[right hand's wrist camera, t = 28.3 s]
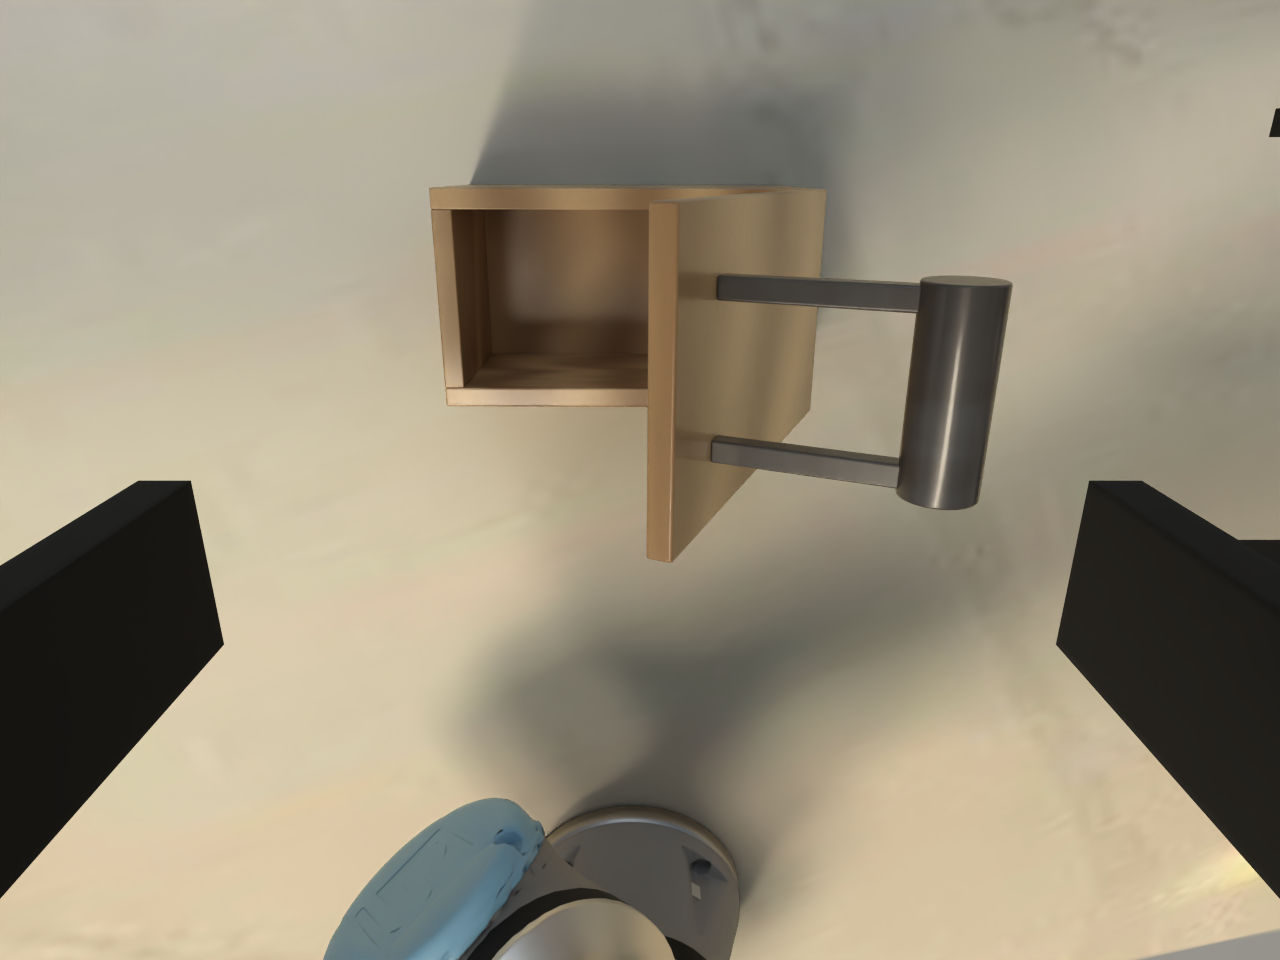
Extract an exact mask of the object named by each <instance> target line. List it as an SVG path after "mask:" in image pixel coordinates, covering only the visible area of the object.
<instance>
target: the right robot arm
mask: <svg viewBox="0 0 1280 960" xmlns="http://www.w3.org/2000/svg"><path fill="white" fill-rule="evenodd" d="M223 645H224V642H223V637H222V632H221V628H220V623H219V618H218V613H217V608H216V603H215V598H214V593H213V588H212V583H211V578H210V573H209V568H208V563H207V558H206V554H205V549H204V544H203V539H202V534H201V529H200V524H199V519H198V514H197V509H196V504H195V499H194V494H193V489H192V484H191V481H137V482H136V483H134V484H132V485H131V486H129V487H127V488H126V489H124V490H123V491H121V492H119V493H118V494H116V495H114V496H113V497H111V498H110V499H108V500H106V501H105V502H103V503H101V504H100V505H98V506H97V507H95V508H93V509H92V510H90V511H88V512H87V513H85V514H84V515H82V516H80V517H79V518H77V519H75V520H74V521H72V522H71V523H69V524H67V525H66V526H64V527H62V528H61V529H59V530H58V531H56V532H54V533H53V534H51V535H49V536H48V537H46V538H45V539H43V540H41V541H40V542H38V543H36V544H35V545H33V546H32V547H30V548H28V549H27V550H25V551H23V552H22V553H20V554H19V555H17V556H15V557H14V558H12V559H10V560H9V561H7V562H6V563H4V564H2V565H1V566H0V898H1V897H2V896H3V895H4V894H5V893H6V891H7V890H8V889H9V888H10V887H11V886H12V885H13V884H14V882H15V881H16V880H17V879H18V878H19V877H20V876H21V874H22V873H23V872H24V871H25V870H26V869H27V868H28V866H29V865H30V864H31V863H32V862H33V861H34V860H35V859H36V857H37V856H38V855H39V854H40V853H41V852H42V851H43V849H44V848H45V847H46V846H47V845H48V844H49V843H50V841H51V840H52V839H53V838H54V837H55V836H56V835H57V834H58V832H59V831H60V830H61V829H62V828H63V827H64V826H65V824H66V823H67V822H68V821H69V820H70V819H71V818H72V817H73V815H74V814H75V813H76V812H77V811H78V810H79V809H80V807H81V806H82V805H83V804H84V803H85V802H86V801H87V799H88V798H89V797H90V796H91V795H92V794H93V793H94V792H95V790H96V789H97V788H98V787H99V786H100V785H101V784H102V782H103V781H104V780H105V779H106V778H107V777H108V776H109V774H110V773H111V772H112V771H113V770H114V769H115V768H116V767H117V765H118V764H119V763H120V762H121V761H122V760H123V759H124V757H125V756H126V755H127V754H128V753H129V752H130V751H131V749H132V748H133V747H134V746H135V745H136V744H137V743H138V742H139V740H140V739H141V738H142V737H143V736H144V735H145V734H146V732H147V731H148V730H149V729H150V728H151V727H152V726H153V725H154V723H155V722H156V721H157V720H158V719H159V718H160V717H161V715H162V714H163V713H164V712H165V711H166V710H167V709H168V707H169V706H170V705H171V704H172V703H173V702H174V701H175V700H176V698H177V697H178V696H179V695H180V694H181V693H182V692H183V690H184V689H185V688H186V687H187V686H188V685H189V684H190V682H191V681H192V680H193V679H194V678H195V677H196V676H197V675H198V673H199V672H200V671H201V670H202V669H203V668H204V667H205V665H206V664H207V663H208V662H209V661H210V660H211V659H212V657H213V656H214V655H215V654H216V653H217V652H218V651H219V650H220V648H221V647H222V646H223ZM1056 645H1057V646H1058V647H1059V648H1060V650H1061V651H1062V652H1063V653H1064V654H1065V655H1066V656H1067V657H1068V659H1069V660H1070V661H1071V662H1072V663H1073V664H1074V665H1075V667H1076V668H1077V669H1078V670H1079V671H1080V672H1081V673H1082V675H1083V676H1084V677H1085V678H1086V679H1087V680H1088V681H1089V682H1090V684H1091V685H1092V686H1093V687H1094V688H1095V689H1096V690H1097V692H1098V693H1099V694H1100V695H1101V696H1102V697H1103V698H1104V700H1105V701H1106V702H1107V703H1108V704H1109V705H1110V706H1111V707H1112V709H1113V710H1114V711H1115V712H1116V713H1117V714H1118V715H1119V717H1120V718H1121V719H1122V720H1123V721H1124V722H1125V723H1126V725H1127V726H1128V727H1129V728H1130V729H1131V730H1132V731H1133V732H1134V734H1135V735H1136V736H1137V737H1138V738H1139V739H1140V740H1141V742H1142V743H1143V744H1144V745H1145V746H1146V747H1147V748H1148V749H1149V751H1150V752H1151V753H1152V754H1153V755H1154V756H1155V757H1156V759H1157V760H1158V761H1159V762H1160V763H1161V764H1162V765H1163V767H1164V768H1165V769H1166V770H1167V771H1168V772H1169V773H1170V774H1171V776H1172V777H1173V778H1174V779H1175V780H1176V781H1177V782H1178V784H1179V785H1180V786H1181V787H1182V788H1183V789H1184V790H1185V792H1186V793H1187V794H1188V795H1189V796H1190V797H1191V798H1192V799H1193V801H1194V802H1195V803H1196V804H1197V805H1198V806H1199V807H1200V809H1201V810H1202V811H1203V812H1204V813H1205V814H1206V815H1207V817H1208V818H1209V819H1210V820H1211V821H1212V822H1213V823H1214V824H1215V826H1216V827H1217V828H1218V829H1219V830H1220V831H1221V832H1222V834H1223V835H1224V836H1225V837H1226V838H1227V839H1228V840H1229V842H1230V843H1231V844H1232V845H1233V846H1234V847H1235V848H1236V849H1237V851H1238V852H1239V853H1240V854H1241V855H1242V856H1243V857H1244V859H1245V860H1246V861H1247V862H1248V863H1249V864H1250V865H1251V866H1252V868H1253V869H1254V870H1255V871H1256V872H1257V873H1258V874H1259V876H1260V877H1261V878H1262V879H1263V880H1264V881H1265V882H1266V884H1267V885H1268V886H1269V887H1270V888H1271V889H1272V890H1273V891H1274V893H1275V894H1276V895H1277V896H1278V897H1279V898H1280V566H1279V565H1278V564H1276V563H1274V562H1273V561H1271V560H1270V559H1268V558H1266V557H1265V556H1263V555H1261V554H1260V553H1258V552H1257V551H1255V550H1253V549H1252V548H1250V547H1248V546H1247V545H1245V544H1244V543H1242V542H1240V541H1239V540H1237V539H1235V538H1234V537H1232V536H1231V535H1229V534H1227V533H1226V532H1224V531H1222V530H1221V529H1219V528H1218V527H1216V526H1214V525H1213V524H1211V523H1209V522H1208V521H1206V520H1205V519H1203V518H1201V517H1200V516H1198V515H1196V514H1195V513H1193V512H1192V511H1190V510H1188V509H1187V508H1185V507H1183V506H1182V505H1180V504H1179V503H1177V502H1175V501H1174V500H1172V499H1170V498H1169V497H1167V496H1166V495H1164V494H1162V493H1161V492H1159V491H1157V490H1156V489H1154V488H1153V487H1151V486H1149V485H1148V484H1146V483H1144V482H1143V481H1089V484H1088V489H1087V494H1086V499H1085V504H1084V509H1083V514H1082V519H1081V524H1080V529H1079V534H1078V539H1077V544H1076V549H1075V554H1074V558H1073V563H1072V568H1071V573H1070V578H1069V583H1068V588H1067V593H1066V598H1065V603H1064V608H1063V613H1062V618H1061V623H1060V628H1059V632H1058V637H1057V642H1056Z"/></svg>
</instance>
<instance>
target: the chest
mask: <svg viewBox="0 0 1280 960" xmlns="http://www.w3.org/2000/svg"><path fill="white" fill-rule="evenodd" d="M803 189H811V188H801V187H790V186H733V185H459V186H445V187H432V188H429V192H430V205H431V209H432V210H431V217H432V229H433V242H434V254H435V266H436V279H437V291H438V303H439V316H440V328H441V340H442V353H443V365H444V377H445V387H446V400H447V406H595V407H648V301H649V204H650V202H651V201H654V200H668V199H681V198H695V197H708V196H722V195H735V194H749V193H763V192H776V191H790V190H803Z"/></svg>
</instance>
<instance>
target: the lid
mask: <svg viewBox="0 0 1280 960" xmlns="http://www.w3.org/2000/svg"><path fill="white" fill-rule="evenodd" d="M826 195H827V191H826V190H825V189H803V190H790V191H776V192H763V193H749V194H735V195H722V196H708V197H695V198H681V199H668V200H654V201H651V202H650V204H649V301H648V456H647V558H649V559H653V560H659V561H664V562H673V561H674V560H675V558H676V557H677V556H678V555H679V554H680V553H681V552H682V551H683V550H684V549H685V547H686V546H687V545H688V544H689V543H690V542H691V541H692V540H693V539H694V538H695V536H696V535H697V534H698V533H699V532H700V531H701V530H702V529H703V528H704V526H705V525H706V524H707V523H708V522H709V521H710V520H711V519H712V518H713V517H714V515H715V514H716V513H717V512H718V511H719V510H720V509H721V508H722V507H723V506H724V504H725V503H726V502H727V501H728V500H729V499H730V498H731V497H732V496H733V495H734V493H735V492H736V491H737V490H738V489H739V488H740V487H741V486H742V485H743V483H744V482H745V481H746V480H747V479H748V478H749V477H750V476H751V475H752V474H753V472H754V471H755V470H756V469H763V470H770V471H777V472H784V473H791V474H798V475H805V476H812V477H819V478H826V479H833V480H841V481H848V482H855V483H862V484H869V485H876V486H883V487H890V488H895V490H896V493H897V495H898V496H899V497H900V498H902V499H903V500H905V501H907V502H909V503H912V504H915V505H918V506H922V507H926V508H932V509H940V510H960V509H966V508H970V507H972V506H974V505H976V504H977V503H978V501H979V496H980V490H981V484H982V477H983V471H984V465H985V458H986V452H987V446H988V439H989V433H990V427H991V420H992V414H993V408H994V401H995V395H996V389H997V382H998V376H999V369H1000V363H1001V357H1002V350H1003V344H1004V338H1005V331H1006V325H1007V319H1008V312H1009V306H1010V300H1011V293H1012V287H1013V285H1012V283H1011V282H1009V281H1006V280H1002V279H996V278H987V277H975V276H931V277H925V278H922V279H921V280H920V283H909V282H890V281H870V280H851V279H831V278H820V273H821V260H822V247H823V234H824V221H825V208H826ZM818 307H826V308H841V309H857V310H872V311H888V312H904V313H916V320H915V329H914V337H913V345H912V354H911V362H910V371H909V379H908V387H907V396H906V404H905V413H904V421H903V430H902V438H901V446H900V455H899V458H895V457H887V456H879V455H871V454H864V453H856V452H848V451H840V450H832V449H825V448H817V447H809V446H801V445H793V444H786V443H781V442H782V440H783V439H784V438H785V437H786V436H787V435H788V434H789V433H790V432H791V431H792V429H793V428H794V427H795V426H796V425H797V424H798V423H799V422H800V421H801V420H802V418H803V417H804V416H805V415H806V414H807V413H808V412H809V410H810V402H811V389H812V376H813V363H814V350H815V337H816V324H817V311H818Z"/></svg>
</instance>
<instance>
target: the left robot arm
mask: <svg viewBox="0 0 1280 960" xmlns="http://www.w3.org/2000/svg"><path fill="white" fill-rule="evenodd" d="M1269 137H1280V108H1278V109H1276V111H1275V115H1274V119H1273V123H1272V127H1271V131H1270V135H1269ZM1239 541H1240V542H1242V543H1244V544H1245V545H1247V546H1248V547H1250V548H1252V549H1253V550H1255V551H1257V552H1258V553H1260V554H1261V555H1263V556H1265V557H1266V558H1268V559H1270V560H1271V561H1273V562H1274V563H1276V564H1278V565H1279V566H1280V540H1239ZM544 835H545V831H544V830H543V826H542V825H541V823H540V822H539V821H535V820H533V819H532V818H531V817H530V816H529V815H528V814H527V813H526V812H525V811H524V810H523V809H522V808H521V807H520V806H519V805H518V804H516V803H515V802H513V801H510V800H507V799H502V798H488V799H483V800H478V801H475V802H472V803H469V804H467V805H464V806H462V807H460V808H458V809H456V810H454V811H452V812H451V813H449V814H448V815H446V816H445V817H442V818H440V819H439V820H437V821H436V822H434V823H432V824H431V825H430V826H428V827H427V828H426V829H424V830H423V831H422V832H420V833H419V834H418V835H417V836H415V837H414V838H413V839H412V840H410V841H409V842H408V843H407V844H406V845H405V846H404V847H402V848H401V849H400V850H399V851H398V852H397V853H396V854H395V855H394V856H393V857H392V858H391V859H390V860H389V861H388V862H387V863H386V864H385V865H384V866H383V867H382V868H381V869H380V870H379V871H378V872H377V874H376V875H375V876H374V877H373V878H372V879H371V880H370V882H369V883H368V884H367V885H366V886H365V888H364V889H363V890H362V891H361V893H360V894H359V895H358V897H357V898H356V899H355V901H354V902H353V903H352V905H351V906H350V908H349V909H348V911H347V912H346V914H345V915H344V917H343V919H342V921H341V923H340V925H339V927H338V928H337V930H336V931H335V933H334V935H333V936H332V938H331V941H330V943H329V945H328V948H327V950H326V953H325V956H324V959H323V960H729V959H730V955H731V951H732V947H733V943H734V939H735V935H736V931H737V926H738V922H739V911H740V896H739V888H738V881H737V874H736V870H735V867H734V864H733V862H732V859H731V857H730V856H729V854H728V852H727V851H726V849H725V848H724V846H723V845H722V844H721V843H720V841H719V840H718V839H717V838H716V837H715V836H714V835H713V834H711V833H710V832H709V831H708V830H707V829H705V828H704V827H702V826H701V825H699V824H698V823H696V822H694V821H693V820H691V819H689V818H687V817H684V816H682V815H679V814H677V813H674V812H671V811H667V810H664V809H659V808H654V807H646V806H618V807H609V808H605V809H600V810H596V811H593V812H589V813H587V814H584V815H581V816H579V817H577V818H575V819H573V820H571V821H569V822H567V823H566V824H564V825H562V826H561V827H560V828H558V829H557V830H556V831H554V832H553V833H552V834H551V835H550V836H549V837H548V838H546V837H545V836H544Z"/></svg>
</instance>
